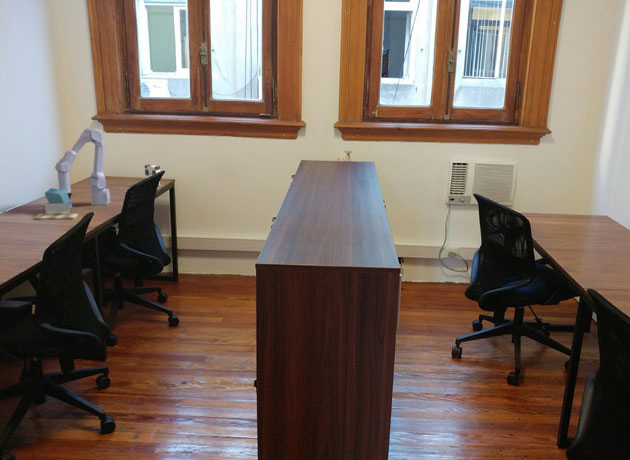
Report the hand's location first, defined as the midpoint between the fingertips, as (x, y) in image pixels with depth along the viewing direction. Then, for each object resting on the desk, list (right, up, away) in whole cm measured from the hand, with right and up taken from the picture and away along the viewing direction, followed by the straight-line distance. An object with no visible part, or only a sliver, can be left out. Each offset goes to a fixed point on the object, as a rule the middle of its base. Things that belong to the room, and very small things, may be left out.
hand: (66, 206), depth 317 cm
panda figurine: (+32, +15, +60) cm, 70 cm away
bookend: (+2, -7, -18) cm, 19 cm away
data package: (-1, -2, -4) cm, 4 cm away
